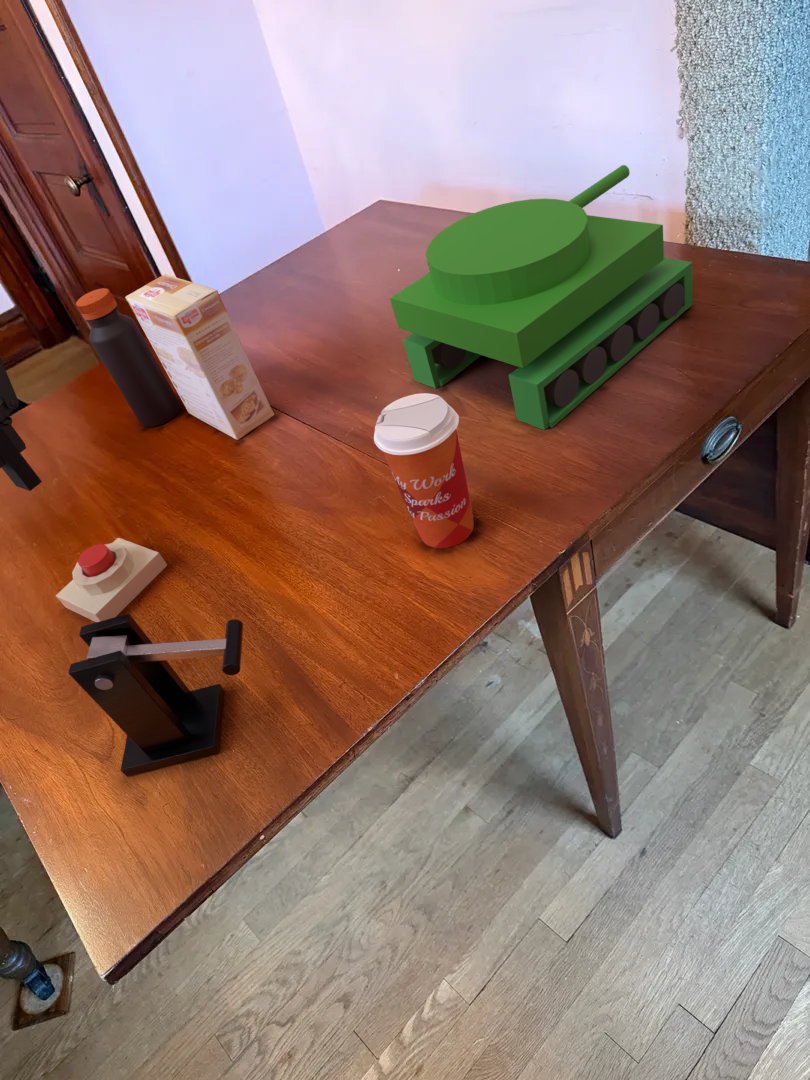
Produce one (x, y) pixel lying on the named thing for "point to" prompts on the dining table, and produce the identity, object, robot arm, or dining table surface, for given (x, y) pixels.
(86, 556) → the red button
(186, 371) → the coffeecake box
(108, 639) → the switch lever
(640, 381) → the dining table surface
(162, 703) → the switch bracket
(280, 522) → the dining table surface
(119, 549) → the button housing
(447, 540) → the coffee cup
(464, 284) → the tank
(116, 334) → the bottle
